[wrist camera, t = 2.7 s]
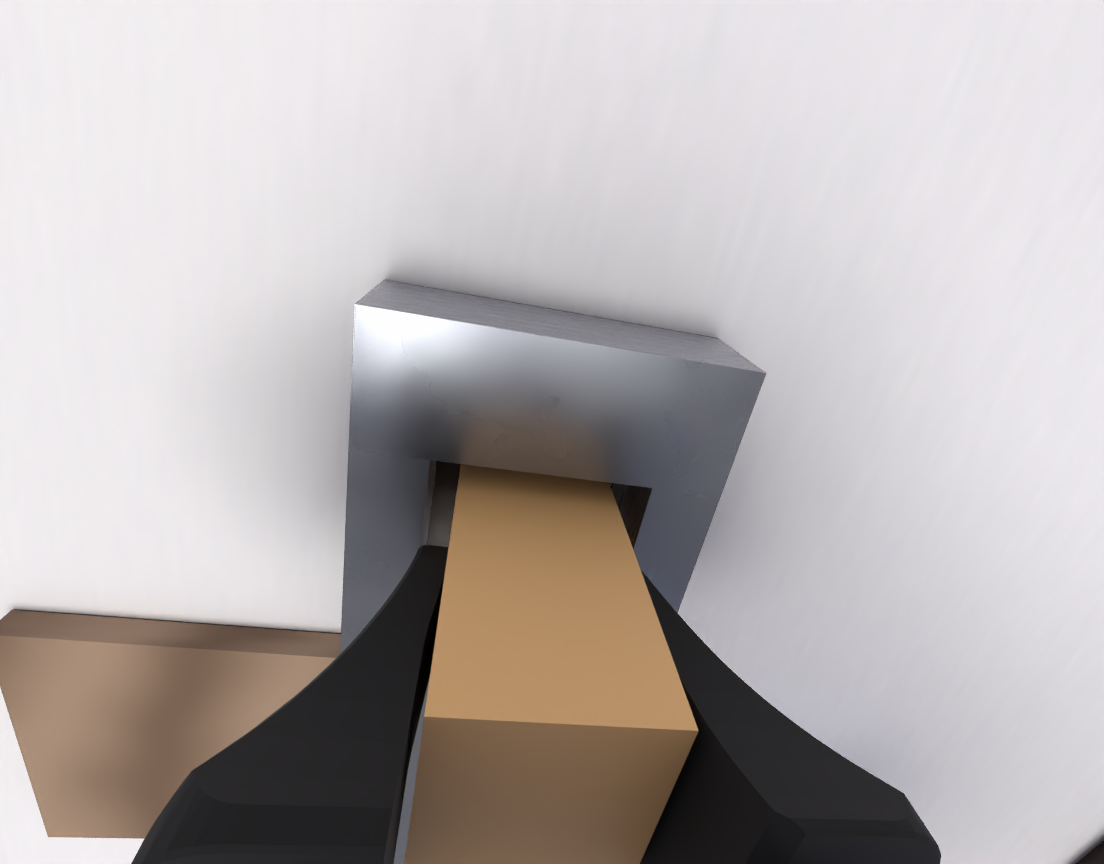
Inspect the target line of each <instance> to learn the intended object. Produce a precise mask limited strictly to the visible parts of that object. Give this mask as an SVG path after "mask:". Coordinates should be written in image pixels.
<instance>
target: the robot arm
mask: <svg viewBox="0 0 1104 864" xmlns="http://www.w3.org/2000/svg"><path fill="white" fill-rule="evenodd" d="M447 555H448V547H438V546H428V545H423V546H421V547H420V548H418V550H417V553H416V555H415V557H414V559H413V561H412V563H411V565H410V566H409V568H408V570H407V571H406V573H405V575H404V576H403V578H402V579H401V581H400V582H399V584H398V585H397V587H396V588H395V589H394V591H393V592H392V593H391V595H390V596H389V598H388V599H387V600H386V602H385V603H384V604H383V606H382V607H381V608H380V610H379V611H378V612H377V613H376V614H375V616H374V617H373V618H372V619H371V620H370V622H369V623H368V624H367V625H366V626H365V628H364V629H363V630H362V631H361V632H360V634H359V635H358V636H357V637H356V638H355V639H354V640H353V641H352V642H351V643H350V644H349V646H348V647H347V648H346V649H345V650H344V651H343V652H342V653H341V654H340V655H339V656H338V657H337V658H336V659H335V660H334V661H333V662H332V663H331V664H330V665H329V666H328V667H327V668H325V669H324V670H323V671H322V672H321V673H320V674H319V675H318V676H317V677H316V678H315V679H314V680H312V681H311V682H310V683H309V684H308V685H307V686H306V687H305V688H303V689H302V690H301V691H300V692H299V693H298V694H297V695H295V696H294V697H293V698H292V699H290V700H289V701H288V702H287V703H285V704H284V705H283V706H282V707H280V708H279V709H278V710H276V711H275V712H274V713H273V714H271V715H270V716H269V717H268V718H266V719H265V720H264V721H262V722H261V723H260V724H259V725H257V726H256V727H255V728H253V729H252V730H251V731H249V732H248V733H246V734H245V735H244V736H242V737H241V738H239V739H238V740H236V741H235V742H233V743H232V744H230V745H229V746H227V747H226V748H225V749H223V750H222V751H220V752H219V753H217V754H216V755H214V756H213V757H211V758H210V759H208V760H207V761H205V762H204V763H202V764H201V765H199V766H198V767H196V768H195V769H193V770H192V771H191V772H190V773H189V775H188V776H187V777H186V778H185V780H184V781H183V782H182V784H181V785H180V786H179V788H178V789H177V790H176V792H175V793H174V794H173V796H172V797H171V799H170V800H169V802H168V803H167V805H166V806H165V807H164V809H163V810H162V812H161V813H160V815H159V816H158V818H157V819H156V821H155V822H154V824H153V825H152V827H151V829H150V830H149V832H148V834H147V835H146V837H145V839H144V841H143V843H142V845H141V847H140V849H139V850H138V852H137V854H136V856H135V858H134V860H133V862H132V864H394V857H395V851H396V844H397V838H398V831H399V825H400V818H401V812H402V805H403V799H404V792H405V786H406V779H407V773H408V767H409V762H410V757H411V752H412V748H413V744H414V739H415V735H416V731H417V727H418V723H419V719H420V715H421V710H422V706H423V702H424V698H425V694H426V690H427V686H428V681H429V677H430V673H431V666H432V659H433V652H434V645H435V638H436V631H437V624H438V617H439V610H440V603H441V597H442V590H443V583H444V576H445V569H446V562H447ZM640 570H641V569H640ZM641 572H642V575H643V578H644V581H645V583H646V586H647V589H648V592H649V595H650V597H651V600H652V603H653V606H654V608H655V611H656V614H657V617H658V620H659V622H660V625H661V628H662V631H663V633H664V636H665V639H666V642H667V645H668V647H669V650H670V653H671V656H672V658H673V661H674V664H675V667H676V669H677V672H678V675H679V678H680V681H681V683H682V686H683V689H684V692H685V694H686V697H687V700H688V703H689V706H690V708H691V711H692V714H693V717H694V719H695V722H696V725H697V728H698V733H697V736H696V738H695V740H694V742H693V745H692V747H691V749H690V751H689V754H688V756H687V758H686V760H685V763H684V765H683V767H682V769H681V772H680V774H679V776H678V779H677V781H676V783H675V785H674V788H673V790H672V792H671V794H670V797H669V799H668V801H667V803H666V806H665V808H664V810H663V812H662V815H661V817H660V819H659V821H658V824H657V826H656V828H655V830H654V833H653V835H652V837H651V839H650V842H649V844H648V846H647V848H646V851H645V853H644V855H643V857H642V860H641V862H640V864H940V859H941V853H940V850H939V847H938V845H937V843H936V842H935V840H934V839H933V837H932V835H931V834H930V832H929V831H928V829H927V828H926V826H925V825H924V823H923V822H922V820H921V819H920V817H919V816H918V814H917V813H916V811H915V810H914V808H913V807H912V805H911V804H910V802H909V801H908V799H907V798H906V796H905V795H904V794H903V793H902V792H900V791H899V790H897V789H895V788H894V787H892V786H890V785H889V784H887V783H885V782H884V781H882V780H880V779H879V778H877V777H875V776H873V775H872V774H870V773H868V772H867V771H865V770H863V769H862V768H860V767H858V766H857V765H855V764H853V763H852V762H850V761H849V760H847V759H845V758H844V757H842V756H841V755H839V754H838V753H837V752H835V751H834V750H832V749H831V748H829V747H828V746H826V745H825V744H823V743H822V742H820V741H819V740H817V739H816V738H814V737H813V736H812V735H810V734H809V733H807V732H806V731H805V730H803V729H802V728H800V727H799V726H798V725H796V724H795V723H794V722H792V721H791V720H790V719H789V718H787V717H786V716H785V715H783V714H782V713H781V712H780V711H778V710H777V709H776V708H774V707H773V706H772V705H771V704H769V703H768V702H767V701H766V700H765V699H763V698H762V697H761V696H760V695H759V694H757V693H756V692H755V691H754V690H753V689H752V688H751V687H749V686H748V685H747V684H746V683H745V682H744V681H743V680H742V679H740V678H739V677H738V676H737V675H736V674H735V673H734V672H733V671H732V670H731V669H730V668H728V667H727V666H726V665H725V664H724V663H723V662H722V661H721V660H720V659H719V658H718V657H717V656H716V655H715V654H714V653H713V652H712V651H711V650H710V649H709V647H708V646H707V645H706V644H705V643H704V642H703V641H702V640H701V639H700V638H699V637H698V636H697V635H696V634H695V633H694V632H693V630H692V629H691V628H690V627H689V626H688V625H687V624H686V623H685V621H684V620H683V619H682V618H681V617H680V616H679V615H678V613H677V612H676V611H675V610H674V609H673V608H672V606H671V605H670V604H669V603H668V602H667V600H666V599H665V598H664V597H663V596H662V594H661V593H660V592H659V591H658V589H657V588H656V587H655V586H654V585H653V583H652V582H651V581H650V580H649V579H648V577H647V576H646V575H645V574H644V573H643V571H642V570H641Z"/></svg>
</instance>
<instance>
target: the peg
mask: <svg viewBox="0 0 1104 864" xmlns="http://www.w3.org/2000/svg"><path fill="white" fill-rule="evenodd" d="M697 733H698V728H697V725H696V722H695V719H694V717H693V714H692V711H691V708H690V706H689V703H688V700H687V697H686V694H685V692H684V689H683V686H682V683H681V681H680V678H679V675H678V672H677V669H676V667H675V664H674V661H673V658H672V656H671V653H670V650H669V647H668V645H667V642H666V639H665V636H664V633H663V631H662V628H661V625H660V622H659V620H658V617H657V614H656V611H655V608H654V606H653V603H652V600H651V597H650V595H649V592H648V589H647V586H646V583H645V581H644V578H643V575H642V572H641V570H640V567H639V564H638V561H637V558H636V556H635V553H634V550H633V547H632V545H631V542H630V539H629V536H628V534H627V531H626V528H625V525H624V522H623V520H622V517H621V514H620V511H619V509H618V506H617V503H616V500H615V497H614V495H613V492H612V489H611V486H610V484H609V483H608V482H600V481H592V480H584V479H576V478H568V477H560V476H552V475H545V474H537V473H529V472H521V471H513V470H505V469H497V468H489V467H481V466H473V465H465V464H461V465H460V472H459V479H458V486H457V493H456V500H455V507H454V513H453V520H452V527H451V534H450V541H449V548H448V555H447V562H446V569H445V576H444V583H443V590H442V597H441V603H440V610H439V617H438V624H437V631H436V638H435V645H434V652H433V659H432V666H431V673H430V680H429V686H428V693H427V700H426V707H425V714H424V721H423V729H422V736H421V743H420V751H419V758H418V765H417V773H416V780H415V788H414V795H413V802H412V810H411V817H410V824H409V832H408V839H407V846H406V854H405V861H404V864H640V862H641V860H642V857H643V855H644V853H645V851H646V848H647V846H648V844H649V842H650V839H651V837H652V835H653V833H654V830H655V828H656V826H657V824H658V821H659V819H660V817H661V815H662V812H663V810H664V808H665V806H666V803H667V801H668V799H669V797H670V794H671V792H672V790H673V788H674V785H675V783H676V781H677V779H678V776H679V774H680V772H681V769H682V767H683V765H684V763H685V760H686V758H687V756H688V754H689V751H690V749H691V747H692V745H693V742H694V740H695V738H696V736H697Z"/></svg>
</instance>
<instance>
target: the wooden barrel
mask: <svg viewBox="0 0 1104 864" xmlns="http://www.w3.org/2000/svg"><path fill="white" fill-rule="evenodd" d="M1076 864H1104V841H1103V842H1101V843H1100V844H1099V845H1098V846H1097V847H1096V848H1094V849H1093V850H1092V851H1091V852H1090V853H1088V854H1087V855H1086V856H1085V857H1084V858H1082V859H1081V860H1080V861H1079V862H1078V863H1076Z"/></svg>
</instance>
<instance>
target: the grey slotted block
mask: <svg viewBox="0 0 1104 864" xmlns="http://www.w3.org/2000/svg"><path fill="white" fill-rule="evenodd" d="M765 375H766V373H765V372H764V371H763V370H761V369H760V368H758V367H757V366H756V365H754V364H753V363H751V362H750V361H749V360H747V359H746V358H745V357H743V356H742V355H740V354H739V353H738V352H736V351H735V350H733V349H732V348H731V347H729V346H728V345H726V344H725V343H724V342H722V341H721V340H719V339H718V338H713V337H707V336H702V335H696V334H690V333H685V332H679V331H673V330H668V329H662V328H656V327H650V326H645V325H639V324H633V323H628V322H622V321H616V320H611V319H605V318H599V317H594V316H588V315H582V314H577V313H571V312H565V311H559V310H554V309H548V308H542V307H537V306H531V305H525V304H520V303H514V302H508V301H503V300H497V299H491V298H485V297H480V296H474V295H468V294H463V293H457V292H451V291H446V290H440V289H434V288H429V287H423V286H417V285H411V284H406V283H400V282H394V281H389V280H383V281H382V282H381V283H380V284H378V285H377V286H376V287H375V288H374V289H372V290H371V291H370V292H369V293H368V294H366V295H365V296H364V297H363V298H361V299H360V300H359V301H358V302H357V303H355V307H354V331H353V355H352V380H351V404H350V429H349V453H348V477H347V502H346V526H345V551H344V575H343V599H342V624H341V648H340V654H341V653H342V652H343V651H344V650H345V649H346V648H347V647H348V646H349V644H350V643H351V642H352V641H353V640H354V639H355V638H356V637H357V636H358V635H359V634H360V632H361V631H362V630H363V629H364V628H365V626H366V625H367V624H368V623H369V622H370V620H371V619H372V618H373V617H374V616H375V614H376V613H377V612H378V611H379V610H380V608H381V607H382V606H383V604H384V603H385V602H386V600H387V599H388V598H389V596H390V595H391V593H392V592H393V591H394V589H395V588H396V587H397V585H398V584H399V582H400V581H401V579H402V578H403V576H404V575H405V573H406V571H407V570H408V568H409V566H410V565H411V563H412V561H413V559H414V557H415V555H416V553H417V550H418V548H420V547H421V546H423V545H427V540H428V532H429V523H430V514H431V506H432V497H433V489H434V480H435V472H436V463H437V461H441V462H449V463H457V464H465V465H473V466H481V467H489V468H497V469H505V470H513V471H521V472H529V473H537V474H545V475H552V476H560V477H568V478H576V479H584V480H592V481H600V482H608V483H614V484H613V487H612V492H613V495H614V497H615V500H616V503H617V506H618V509H619V511H620V514H621V517H622V520H623V522H624V525H625V528H626V531H627V534H628V536H629V539H630V542H631V545H632V547H633V550H634V553H635V556H636V558H637V561H638V564H639V567H640V569H641V570H642V571H643V573H644V574H645V575H646V576H647V577H648V579H649V580H650V581H651V582H652V583H653V585H654V586H655V587H656V588H657V589H658V591H659V592H660V593H661V594H662V596H663V597H664V598H665V599H666V600H667V602H668V603H669V604H670V605H671V606H672V608H673V609H674V610H675V611H676V612H678V610H679V607H680V604H681V601H682V599H683V596H684V593H685V591H686V588H687V585H688V583H689V580H690V577H691V575H692V572H693V569H694V566H695V564H696V561H697V558H698V556H699V553H700V550H701V548H702V545H703V542H704V539H705V537H706V534H707V531H708V529H709V526H710V523H711V521H712V518H713V515H714V512H715V510H716V507H717V504H718V502H719V499H720V496H721V494H722V491H723V488H724V486H725V483H726V480H727V477H728V475H729V472H730V469H731V467H732V464H733V461H734V459H735V456H736V453H737V450H738V448H739V445H740V442H741V440H742V437H743V434H744V432H745V429H746V426H747V424H748V421H749V418H750V415H751V413H752V410H753V407H754V405H755V402H756V399H757V397H758V394H759V391H760V388H761V386H762V383H763V380H764V378H765ZM429 680H430V677H429ZM428 686H429V681H428ZM428 686H427V690H426V694H425V698H424V702H423V706H422V710H421V715H420V719H419V723H418V727H417V731H416V735H415V739H414V744H413V748H412V752H411V757H410V762H409V767H408V773H407V779H406V786H405V792H404V799H403V805H402V812H401V818H400V825H399V831H398V838H397V844H396V851H395V857H394V864H404V861H405V854H406V846H407V839H408V832H409V824H410V817H411V810H412V802H413V795H414V788H415V780H416V773H417V765H418V758H419V751H420V743H421V736H422V729H423V721H424V714H425V707H426V700H427V693H428Z"/></svg>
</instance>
